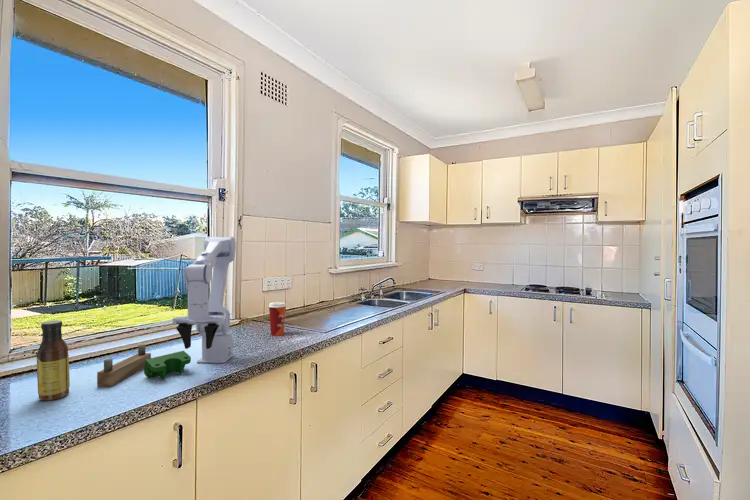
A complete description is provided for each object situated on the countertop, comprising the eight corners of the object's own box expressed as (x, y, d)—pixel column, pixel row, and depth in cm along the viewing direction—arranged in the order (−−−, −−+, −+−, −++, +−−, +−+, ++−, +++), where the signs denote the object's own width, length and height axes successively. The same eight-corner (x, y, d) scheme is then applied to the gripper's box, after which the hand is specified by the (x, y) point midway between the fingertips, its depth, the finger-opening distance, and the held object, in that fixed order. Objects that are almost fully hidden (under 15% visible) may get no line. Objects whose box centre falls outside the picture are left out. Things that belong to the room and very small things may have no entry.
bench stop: (150, 365, 120) (150, 344, 119) (111, 386, 102) (111, 361, 101) (138, 365, 120) (138, 344, 119) (97, 386, 102) (97, 361, 101)
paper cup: (283, 336, 157) (283, 304, 157) (266, 336, 157) (266, 304, 157) (288, 332, 165) (288, 301, 164) (271, 332, 165) (271, 301, 164)
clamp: (158, 394, 107) (147, 372, 103) (149, 384, 111) (139, 363, 106) (196, 369, 115) (188, 347, 111) (187, 361, 119) (179, 340, 114)
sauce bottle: (51, 392, 97) (50, 318, 97) (75, 391, 98) (75, 318, 98) (30, 403, 91) (29, 324, 91) (56, 402, 91) (55, 324, 91)
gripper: (166, 305, 106) (167, 351, 107) (216, 305, 106) (216, 351, 107) (179, 301, 113) (179, 344, 114) (226, 301, 113) (226, 345, 114)
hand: (198, 347), depth 111 cm, fingers open, 6 cm apart
